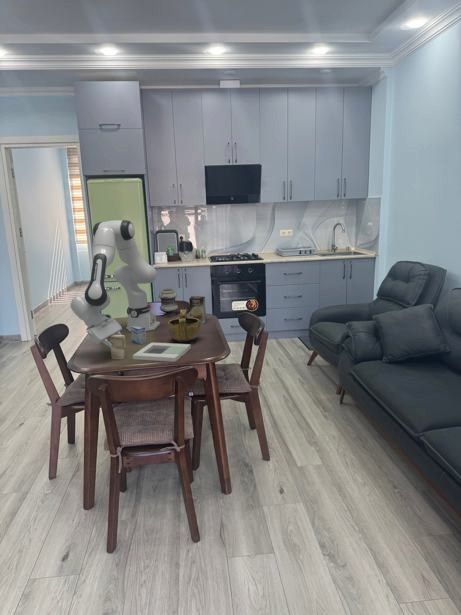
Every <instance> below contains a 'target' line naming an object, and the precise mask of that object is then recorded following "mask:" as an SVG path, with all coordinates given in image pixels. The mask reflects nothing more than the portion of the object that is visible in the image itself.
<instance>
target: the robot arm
mask: <svg viewBox="0 0 461 615" xmlns="http://www.w3.org/2000/svg"><path fill="white" fill-rule="evenodd" d="M135 231H136V230H135V225H134V224H133V222H131V221H130V220H126V219H123V220H122V219H121V220H118V219H115V220H107V221H99V222H96V223H95V224H94V226H93V228H92V236H93V237H94V238H93V240H92V248H91V249H92V250H91V255H92V256H91V258H92V267H91V273H90V280H89V284H88V285H87V287H86V289H85V291H84V293H83V294H78V295H76V296H75V297H73V299H72V301H71V303H70V309H71V311H72V312H73V313H74V314H75V316H76V317H78V318H79V319H80V320H81V321H82V322H83V323H84V325H85V326H87V328H86V330H85V331H86V333H87V335H88V336H89V338H90V339H91V341H93V342H94V344H96V345H100V344H101V343H102V344H103V345H105V346H108V348H111V347H112V346H113V343H112V342H110V340H109V339H110V338H109V337H110V336H112V335H122V333H121V331H122V330H123V328H122V326H121V324H120V323H119V322H118V321H117V320H115V319H114V318H113V316H112V315H111V314H105V313H102V312H101V311H103V310H104V309H106V308H107V307H108V306H109V305H110V303H111V297H110V294H109V293H108V292H107V289H106V287H105V279H106V273H107V272H106V270H107V268H108V266H111V265H112V263H114V259H115V255H116V250H117V254H118V257H119V260H120V261H121V262H123V263H124V265H123V264H122V265H119V266H116V267H115V269H114V272H113V277H114V280H115V281H116V282H118V283H119V285H121V287H123V289H124V291H125V294H126V297H127V302H128V307H127V308H128V309H127V311H128V315H127V326H126V327H125V329H126V330H128V331H129V332H131V327H132V326H141V327H144V328H145V331H146V332H148V331H154V330H156V328H158V327H159V326H160V324H161V322H160V321H158V320H157V317H156V315H155V313H153V312H152V311H151V308H152V305H151V304H148V296H147V292H146V291H145V290H144V289H142V288H140V286H139V284H143V285H146V284H151V283H154V281H155V280H156V278H157V270H156V268H155V267H154V266H153V265H151V264H149V263H148V262H147V261H146V260H145V259H144V258H143V257H142V256H141V254H140V251H139V248H138V246H137V242H136V239H135Z"/></svg>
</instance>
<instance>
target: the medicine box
mask: <svg viewBox="0 0 461 615" xmlns="http://www.w3.org/2000/svg"><path fill="white" fill-rule="evenodd" d="M146 332H147V331H145V328H144V327H141V326H132V327H131V335H130V336H131V342H132V343H134V344H137V345H144V344H147V333H146Z"/></svg>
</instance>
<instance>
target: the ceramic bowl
mask: <svg viewBox="0 0 461 615" xmlns="http://www.w3.org/2000/svg"><path fill="white" fill-rule="evenodd" d="M167 323H168V325H167V326H168V327H167V328H168V332H169V335H170V336H171V338H172V339H173V340H175V341H177V342H179V343H187V342H190V341H193V340H194V339H195V338H197V336H198V335H199V334H200V331H201V323H200V322H199V319H197V318H190V317H189V316H188V314H187V309H186V308H185V309H180V314H179V317H178V318H174V319H170V320H169V321H168V322H167Z"/></svg>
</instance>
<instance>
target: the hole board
mask: <svg viewBox="0 0 461 615" xmlns="http://www.w3.org/2000/svg"><path fill="white" fill-rule="evenodd" d="M191 349H192V344H187V343H169V342H150V343H149V344H147V345H146V346H144V347H143V348H141V349H140V350H138V351H137V352H136V353H134V354H132V359H133V360H140V361H152V362H153V361H156V362H172V363H173V362H174V363H176V362H177V361H179V359H180V358H181V356H182V357H183V356H184V355H185V354H186V353H187V352H188V351H190V350H191Z"/></svg>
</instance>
